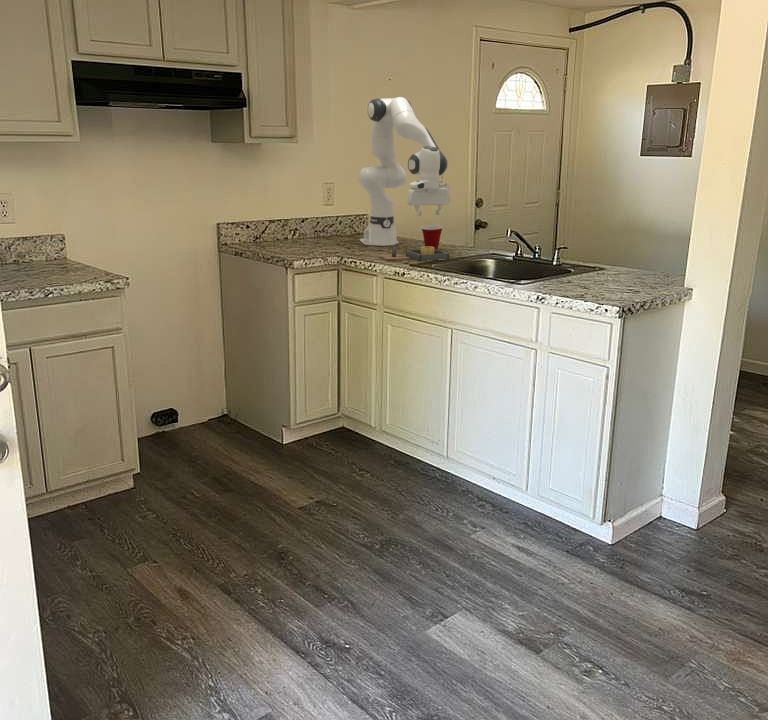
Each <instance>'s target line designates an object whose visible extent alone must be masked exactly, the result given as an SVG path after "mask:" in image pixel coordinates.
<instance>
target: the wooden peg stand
mask: <svg viewBox="0 0 768 720" xmlns="http://www.w3.org/2000/svg"><path fill="white" fill-rule="evenodd" d="M390 246H391V254H378V256H377V257H378V259H380V260H381V259H382V260H384V261H386V262H399V261H410V260H411V258H409V257H407V256H406V255H404V254H400V253H397V248H398V245H397V244H395V245H390Z"/></svg>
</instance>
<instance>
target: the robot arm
mask: <svg viewBox="0 0 768 720" xmlns="http://www.w3.org/2000/svg"><path fill="white" fill-rule="evenodd" d="M367 115H368V117H369V119H370V120H371V121H372V123H371V131H370V132H371V133H370V134H371V138H370V139H371V145H370V146H371V149H370V150H371V154H372V155H373V156H374V157H375V158H377V159H378V160H379V162H380V165H372V166H368V167H367V166H366V167H363V168H362V169H361V170H360V172H359V173H358V183H359V184H360V186H361V187H362V188H363V189H364V190H366V192H367V194H368V196H369V198H370V199H369V200H370V204H371V206H370V208H371V216H369V217H370V218H369V224H368V225H367V227H366V228H365V230H362V235H363V237H362V238H360V239H359V242H361V243H362V244H363V245H366V246H383V247H385V246H391V245H397V244H399V243H400V242H399V240H397V239H398V238H397V227H396V226H395V225H394V223H395V217H394V201H393V199H392V198H391V197H389V196H388V195H386V193H385V189H396V188H400V187H403V186H404V185H405V183H406V181H407V172H406V170H405V169H404V167H402V166H401V165H400V163H399V162H398V160H397V158H396V155H395V146H394V144H395V143H394V130H395V132H396V133H397V135H398V136H400V137H401V138H404V139H406V140H407V139H408V140H412V141H414V142H417V143H419V144H420V145H421V146H422V148H421V149H420V151H418V152H416V153H413V154H411V155H410V156H409V157H408V158H409V159H408V161H407V169H408V171H409V172H410V173H411V174H412V175H414V176H419V179H417V180H414V181H413V182H410V183H409V185H408V186H409V189H408V192H407V201H406V203H407V205H409V206H413V207H414V209H415V211H416V216H419V217H420V216H422V211H420V206H437V210H435V211H434V214H435V215H436V216H438V215H439V216H440V214H441V213H440V212H441V210H442V209H443V205H444V206H445V205H450V202H451V200H450V199H451V197H450V196H451V195H450V189H451V188H450V186H449V185H448V184H447V183H440V176H442V175H443V174H444V173H445V172H446V170H447V168H448V159H447V157H446V156H445V155H444V153H443V152H442V151H441V150H440V148H439V146H438V144H437V142H436V141H435V139H434V138H433V136H432V133H431V132H430V131H429V129H428V128H427V127H425V126H424V125H423V124H422V123H421V122H420V121H419V120H418V118H417V117H416V114H415V112H414V109H413V106H412V104H411V102H410V100H408V99H407V98H405V97H403V96H396V97H395V98H394V97H389V98H388V97H387V98H374V99H373V98H372V99H371V100H370V102H369V103H368V104H367Z"/></svg>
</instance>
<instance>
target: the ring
mask: <svg viewBox="0 0 768 720" xmlns="http://www.w3.org/2000/svg"><path fill="white" fill-rule="evenodd" d="M420 249H421V252H420V255H426V254H434V247H431V246H425V245H423V246H420Z"/></svg>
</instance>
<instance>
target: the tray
mask: <svg viewBox="0 0 768 720" xmlns="http://www.w3.org/2000/svg"><path fill="white" fill-rule="evenodd" d="M420 252H421V248H420V249H406V250H405V256H407V257H409V258H410V260H414V261H416V260H417V261H416V262H419V261H425V262H428V261H427V260H439V259H449V260H450V253H449V252H445V251H444V250H443V251H442V250H440V249H438V250H437V249H434V254H426V255H420Z"/></svg>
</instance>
